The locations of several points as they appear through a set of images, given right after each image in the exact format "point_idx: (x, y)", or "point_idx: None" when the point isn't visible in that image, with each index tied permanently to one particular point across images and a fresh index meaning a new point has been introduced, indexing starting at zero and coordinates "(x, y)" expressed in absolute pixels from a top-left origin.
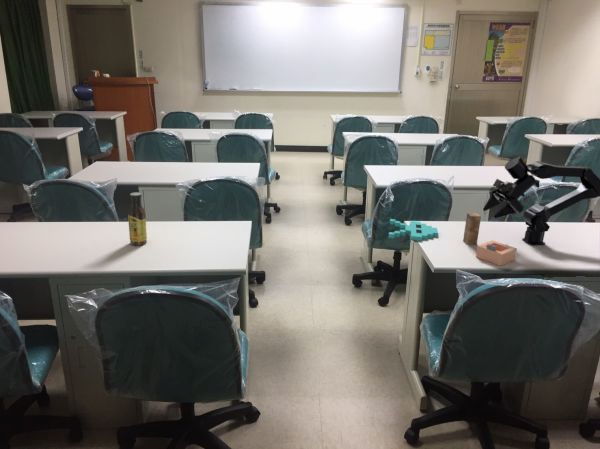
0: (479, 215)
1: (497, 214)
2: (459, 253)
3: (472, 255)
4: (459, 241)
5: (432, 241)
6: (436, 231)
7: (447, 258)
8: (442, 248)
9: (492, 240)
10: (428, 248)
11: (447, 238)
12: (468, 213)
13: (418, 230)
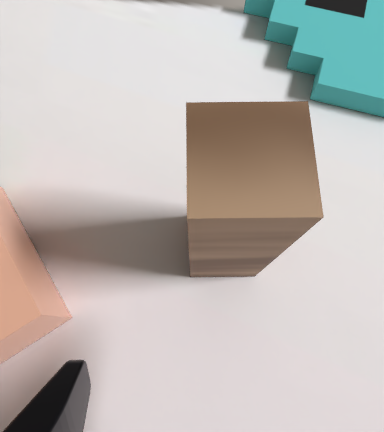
0: (220, 211)
1: (24, 420)
2: (65, 125)
3: (28, 180)
4: None
5: (240, 56)
6: (347, 83)
7: (14, 52)
8: (141, 70)
9: (38, 314)
10: (145, 13)
11: None
12: (297, 111)
13: (351, 2)
